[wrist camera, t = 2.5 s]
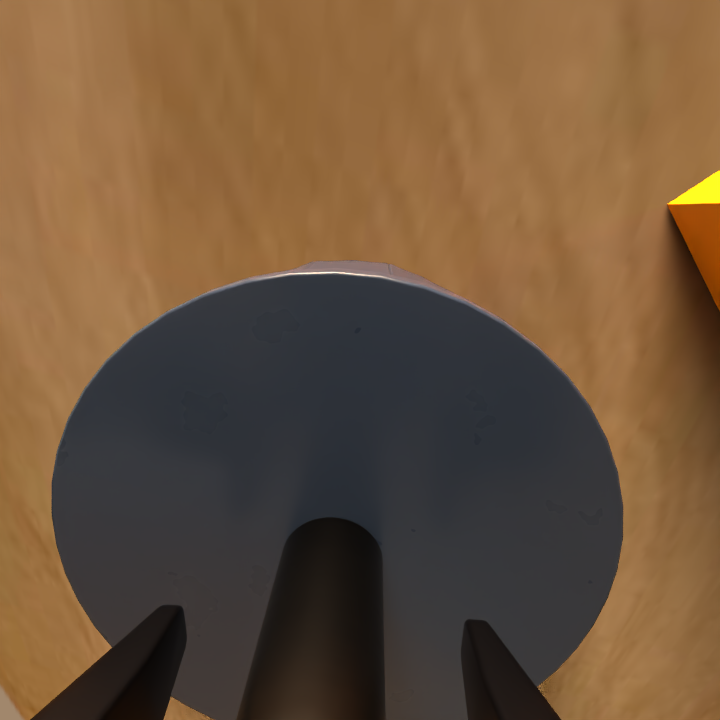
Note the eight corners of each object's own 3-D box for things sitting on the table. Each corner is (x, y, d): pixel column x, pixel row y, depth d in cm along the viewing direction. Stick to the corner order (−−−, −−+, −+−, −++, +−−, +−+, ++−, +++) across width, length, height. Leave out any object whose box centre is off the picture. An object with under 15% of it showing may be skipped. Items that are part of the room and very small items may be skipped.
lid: (121, 693, 14) (-36, 989, 9) (32, 255, 10) (-380, 307, 4) (553, 716, 14) (667, 1038, 8) (655, 273, 10) (1019, 352, 4)
